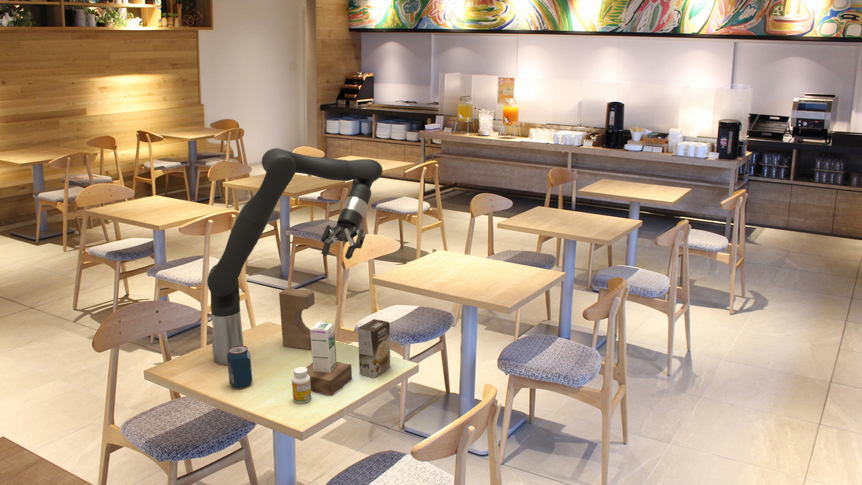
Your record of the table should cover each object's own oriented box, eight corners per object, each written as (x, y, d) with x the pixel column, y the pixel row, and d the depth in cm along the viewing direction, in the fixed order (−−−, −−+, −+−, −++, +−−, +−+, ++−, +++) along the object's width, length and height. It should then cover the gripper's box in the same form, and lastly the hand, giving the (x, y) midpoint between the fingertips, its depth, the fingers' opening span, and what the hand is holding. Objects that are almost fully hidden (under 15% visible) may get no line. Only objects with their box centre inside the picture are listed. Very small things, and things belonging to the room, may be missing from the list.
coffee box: (375, 378, 229) (373, 331, 224) (359, 374, 232) (357, 327, 227) (391, 367, 236) (390, 321, 232) (375, 363, 239) (373, 318, 235)
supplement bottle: (294, 395, 219) (292, 366, 216) (312, 394, 219) (310, 365, 216) (292, 404, 213) (290, 374, 211) (310, 403, 214) (308, 373, 211)
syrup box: (330, 373, 221) (328, 329, 217) (312, 371, 223) (309, 328, 219) (337, 365, 227) (334, 322, 223) (319, 363, 228) (316, 321, 224)
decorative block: (317, 344, 254) (314, 291, 249) (309, 350, 249) (306, 296, 244) (290, 340, 258) (287, 287, 253) (282, 346, 253) (278, 292, 248)
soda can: (256, 380, 229) (253, 345, 225) (246, 390, 222) (243, 354, 219) (236, 378, 230) (232, 343, 227) (225, 388, 223) (222, 352, 220)
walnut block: (298, 388, 223) (297, 373, 222) (319, 372, 233) (319, 357, 232) (331, 395, 218) (330, 380, 217) (351, 378, 229) (351, 364, 227)
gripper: (329, 205, 237) (311, 248, 231) (367, 209, 232) (350, 253, 225) (338, 217, 244) (321, 259, 237) (375, 221, 238) (359, 264, 231)
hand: (335, 256), depth 231 cm, fingers open, 8 cm apart
